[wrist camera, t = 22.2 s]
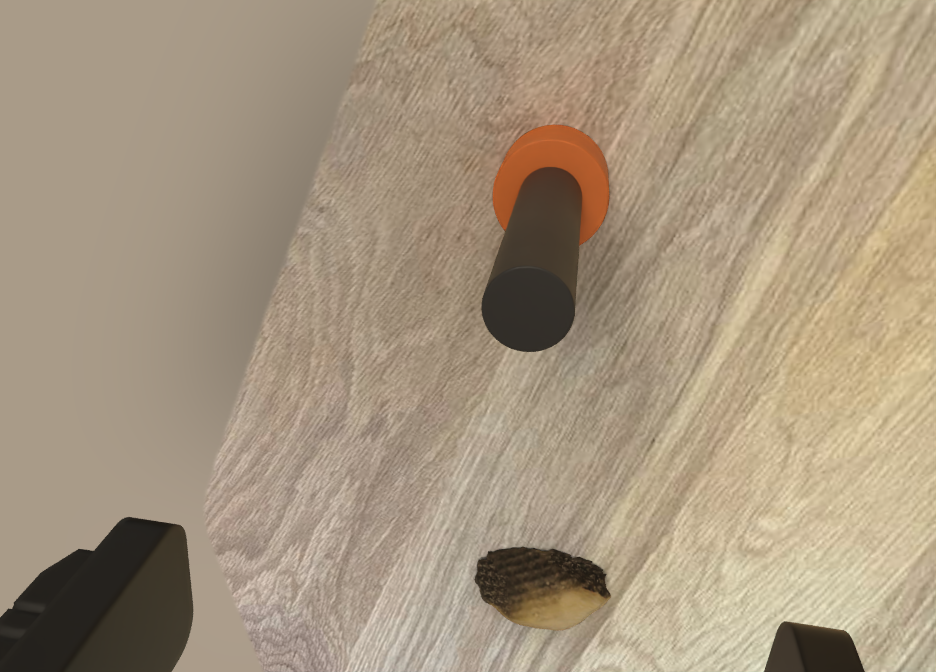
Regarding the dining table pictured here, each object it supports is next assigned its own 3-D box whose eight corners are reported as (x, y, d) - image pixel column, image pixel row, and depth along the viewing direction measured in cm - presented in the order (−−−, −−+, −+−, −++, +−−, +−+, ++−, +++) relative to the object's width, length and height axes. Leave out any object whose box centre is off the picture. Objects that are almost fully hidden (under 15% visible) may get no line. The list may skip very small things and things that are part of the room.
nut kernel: (620, 579, 41) (608, 614, 38) (572, 639, 43) (557, 676, 40) (515, 505, 42) (496, 534, 39) (473, 567, 44) (452, 599, 41)
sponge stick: (483, 151, 33) (413, 267, 21) (583, 106, 32) (574, 199, 19) (526, 246, 35) (486, 407, 22) (624, 206, 33) (641, 353, 21)
